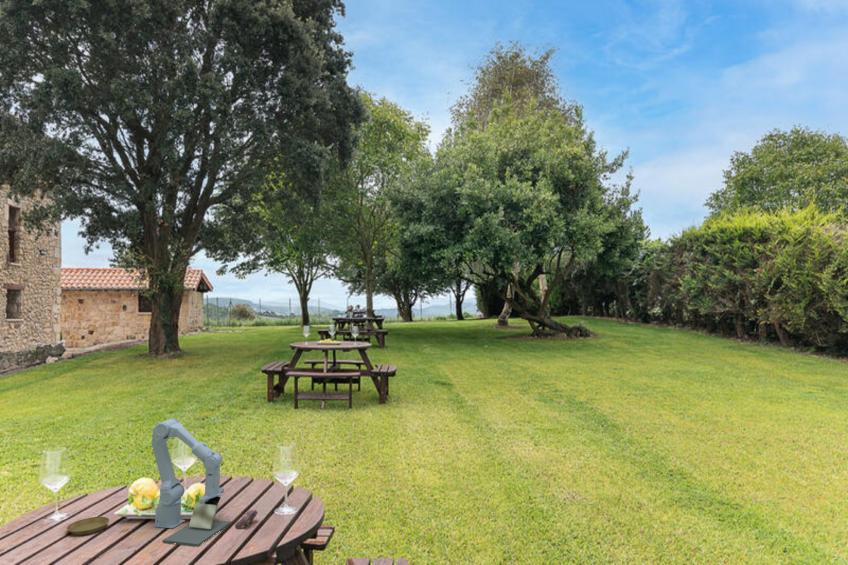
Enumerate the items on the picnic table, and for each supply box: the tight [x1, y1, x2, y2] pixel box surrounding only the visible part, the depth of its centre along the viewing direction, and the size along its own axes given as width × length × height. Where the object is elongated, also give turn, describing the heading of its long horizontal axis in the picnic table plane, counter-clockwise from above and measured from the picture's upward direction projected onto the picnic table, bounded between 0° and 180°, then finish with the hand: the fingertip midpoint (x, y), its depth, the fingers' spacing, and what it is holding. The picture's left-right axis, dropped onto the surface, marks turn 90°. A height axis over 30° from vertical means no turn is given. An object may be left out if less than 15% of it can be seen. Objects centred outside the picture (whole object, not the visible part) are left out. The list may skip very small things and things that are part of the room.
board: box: [161, 519, 232, 547], centre depth 205 cm, size 16×22×1 cm
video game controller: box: [234, 509, 258, 529], centre depth 213 cm, size 10×5×7 cm, turn 169°
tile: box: [189, 502, 219, 529], centre depth 208 cm, size 9×10×1 cm
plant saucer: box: [66, 516, 110, 536], centre depth 208 cm, size 15×15×3 cm
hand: (211, 515), depth 213 cm, fingers closed
